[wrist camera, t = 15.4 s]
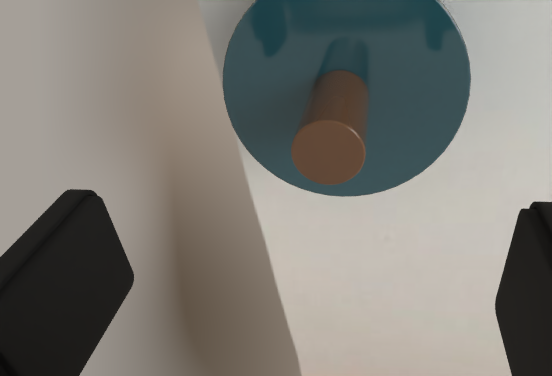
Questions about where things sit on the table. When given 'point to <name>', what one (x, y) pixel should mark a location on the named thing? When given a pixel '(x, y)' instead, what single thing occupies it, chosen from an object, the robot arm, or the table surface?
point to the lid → (346, 90)
